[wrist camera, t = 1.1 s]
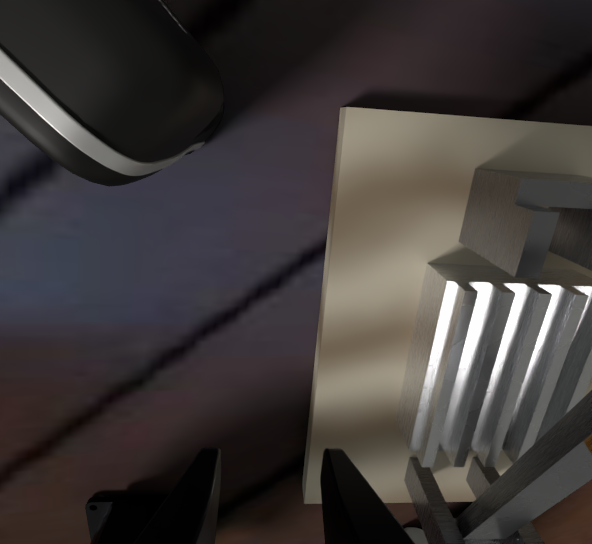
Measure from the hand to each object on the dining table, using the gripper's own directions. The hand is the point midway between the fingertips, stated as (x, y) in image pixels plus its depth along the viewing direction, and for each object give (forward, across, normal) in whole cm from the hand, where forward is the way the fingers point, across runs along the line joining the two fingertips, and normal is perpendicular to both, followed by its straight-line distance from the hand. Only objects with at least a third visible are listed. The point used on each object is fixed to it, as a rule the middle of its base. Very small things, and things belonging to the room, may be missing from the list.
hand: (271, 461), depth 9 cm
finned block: (+11, -12, +4) cm, 17 cm away
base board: (+13, -12, +4) cm, 18 cm away
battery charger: (+13, +5, -9) cm, 17 cm away
